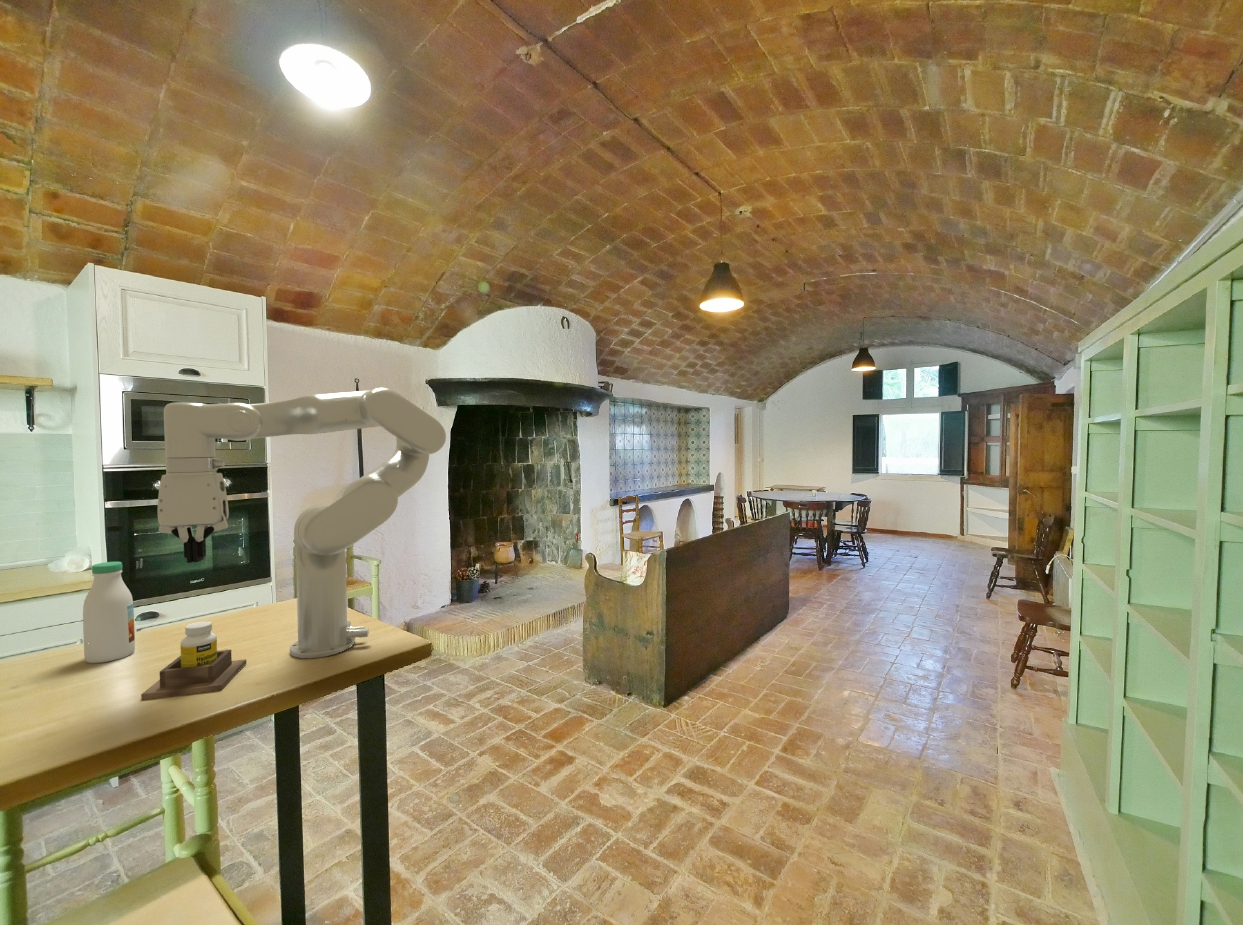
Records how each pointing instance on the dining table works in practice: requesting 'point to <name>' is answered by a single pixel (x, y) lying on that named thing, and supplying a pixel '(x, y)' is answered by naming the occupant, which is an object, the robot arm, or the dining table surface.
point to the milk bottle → (108, 616)
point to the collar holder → (195, 677)
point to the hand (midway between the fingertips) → (195, 560)
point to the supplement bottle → (198, 645)
